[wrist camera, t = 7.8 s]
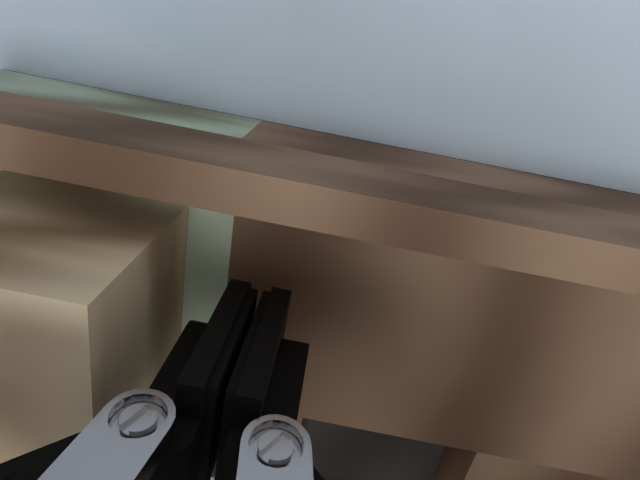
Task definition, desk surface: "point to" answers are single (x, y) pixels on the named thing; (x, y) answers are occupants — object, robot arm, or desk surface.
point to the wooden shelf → (385, 280)
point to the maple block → (81, 302)
